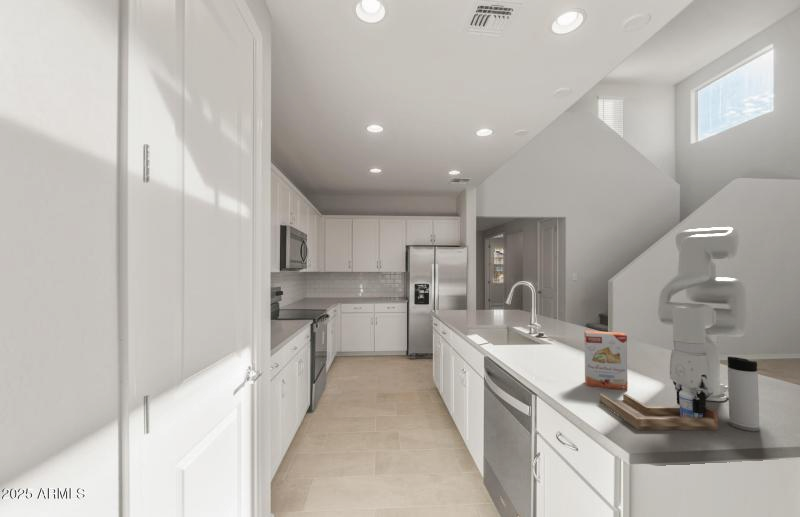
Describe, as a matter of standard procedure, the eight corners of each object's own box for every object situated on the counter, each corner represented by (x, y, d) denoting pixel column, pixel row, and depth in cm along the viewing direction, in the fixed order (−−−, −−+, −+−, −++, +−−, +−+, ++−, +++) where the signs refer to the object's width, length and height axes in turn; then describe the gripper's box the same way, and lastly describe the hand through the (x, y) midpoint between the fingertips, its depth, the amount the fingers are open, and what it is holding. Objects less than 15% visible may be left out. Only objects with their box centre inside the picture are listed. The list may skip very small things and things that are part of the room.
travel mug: (722, 422, 105) (720, 354, 105) (742, 421, 105) (740, 354, 106) (744, 432, 99) (742, 360, 99) (766, 431, 99) (763, 359, 100)
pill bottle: (696, 415, 107) (695, 382, 107) (707, 422, 102) (706, 388, 102) (675, 413, 108) (675, 381, 108) (686, 421, 103) (685, 387, 103)
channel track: (666, 402, 120) (666, 388, 120) (718, 429, 100) (717, 412, 100) (599, 402, 121) (599, 388, 121) (637, 429, 101) (637, 412, 101)
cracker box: (586, 386, 137) (585, 332, 138) (584, 381, 143) (583, 329, 143) (628, 390, 132) (627, 334, 132) (625, 385, 138) (623, 332, 138)
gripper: (656, 341, 114) (657, 397, 114) (699, 354, 97) (701, 421, 97) (680, 341, 114) (681, 397, 113) (727, 354, 97) (729, 421, 96)
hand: (690, 407), depth 105 cm, fingers closed on pill bottle, 5 cm apart
